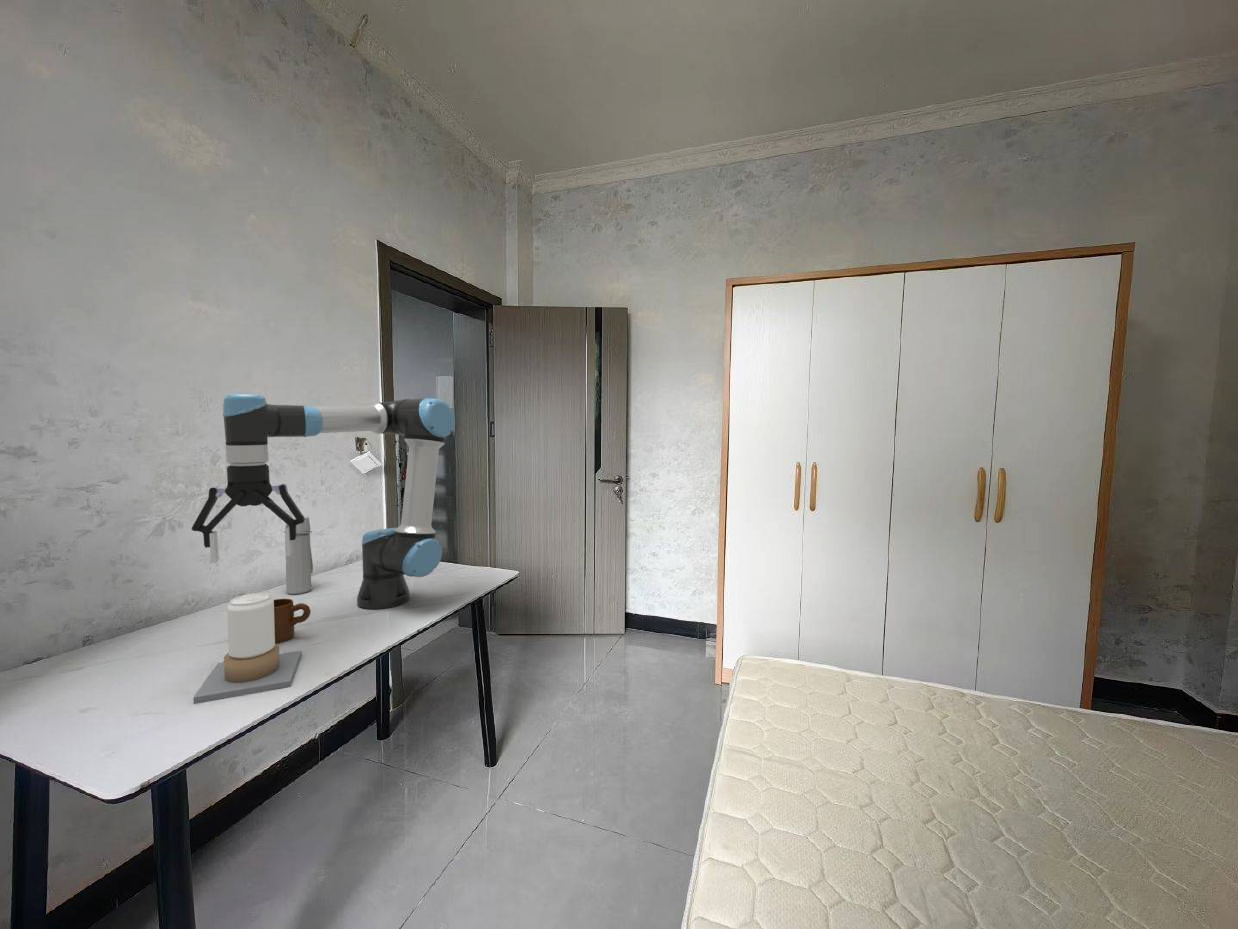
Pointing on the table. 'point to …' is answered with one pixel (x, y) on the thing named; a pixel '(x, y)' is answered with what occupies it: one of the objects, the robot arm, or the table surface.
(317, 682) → the table surface
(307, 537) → the water bottle
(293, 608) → the mug
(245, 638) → the beverage can
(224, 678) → the pedestal
